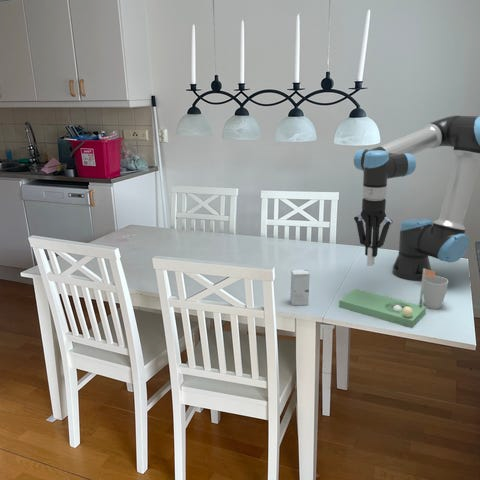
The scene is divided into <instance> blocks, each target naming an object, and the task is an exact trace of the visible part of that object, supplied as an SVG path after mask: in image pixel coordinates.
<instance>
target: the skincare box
mask: <svg viewBox="0 0 480 480" xmlns="http://www.w3.org/2000/svg"><path fill="white" fill-rule="evenodd" d="M310 275H311V274H310V272H309V270H308V269H291V272H290V298H289V300H290V304H291V303H292V304H291V306H308V305H309V294H310V291H309V290H310V277H311V276H310ZM307 304H308V305H307Z"/></svg>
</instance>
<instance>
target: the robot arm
mask: <svg viewBox="0 0 480 480" xmlns="http://www.w3.org/2000/svg"><path fill="white" fill-rule="evenodd" d="M439 147H451V148H453V149H452V152H453V153H454V154H455V155H454V156H455V159H454V162H453V166H452V169H451V173H450V178H449V180H448V184H447V188H446V192H445V194H444V199H443V202H442V205H441V209H440V212H439V213H440V214H439V217H438V219H436V220H434V221H432V220H431V219H429V218H410V219H405V220H403V221H402V222H401V226H400V230H399V232H400V233H399V244H398V245H399V246H398V254H397V256H396V259H395V261H394V263H393V266H392V274H393V275H395V276H396V277H399V278H401V279H403V280H409V281H422V275H423V268H425V269H427V270H432V268H431V267H432V266H431V263H430V259H429V257H431V258H434V259H438V260H439V261H442V262H447V263H456V262H458V261H459V260H460V259H462V258H463V257H464V256H465V254H466V252H467V251H468V248H469V246H470V245H469V244H470V242H469V237H468V236H467V235H466V234H465V233H466V227H465V226H464V222H465V217H466V214H467V210H468V206H469V205H470V204H469V203H470V199H471V196H472V193H473V189H474V185H475V183H476V178H477V175H478V171H479V169H480V116H479V115H478V116H477V115H476V116H475V115H474V116H473V115H450V116H446V117H443V118H441V119H437V120H435V121H431V122H429V123H427V124H425V125H424V126H423V127H421V129H419V130H417V131H414V132H412V133H410V134H407V135H404V136H401V137H400V138H397V139H395V140H392V141H389V142H387V143H385V144H382V145H380V146H377V147H375V148H372V149H367V148H364V149H359V150H358V151H357V152H356V153H355V154H354V157H353V165H354V167H355V169H357V170H359V171H362V172H363V177H362V178H363V181H362V182H363V183H362V185H363V186H362V197H363V198H362V200H361V203H362V204H361V212H360V214H359V215H358V214H357V215H356V216H354V218H353V219H354V221H355V224H356V227H357V233H358V240H359V243H360V245H363V246H364V247H365V249H364V251H365V252H364V255H365V256H366V257H367V258H366V259H367V260H366V266H368V267H372V266H373V265H375V258H376V257H377V256H378V248H381V247H383V246H384V244H385V241H386V238H387V235H388V232H389V229H390V226H391V225H392V224H393V220H392V219H389V218H388V217H387V213H386V203H387V201H386V198H387V188H388V187H387V185H388V179H393V178H394V179H395V178H401V177H402V178H404V177H406V176H409V175H411V174H413V173H414V172H415V170H416V167H417V161H416V158H415V157H414V155H416V154H417V153H419V152H422V151H424V150H427V149H436V148H439ZM382 223H383V226H382V230H381V232H380V228H381V224H382ZM364 224H365V225H364Z"/></svg>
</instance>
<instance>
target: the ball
mask: <svg viewBox="0 0 480 480" xmlns="http://www.w3.org/2000/svg"><path fill="white" fill-rule="evenodd" d="M392 309H393V310H396V311H402V310H403V309H402V307H401V306H400V305H395V306H394V307H393V308H392Z"/></svg>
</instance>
